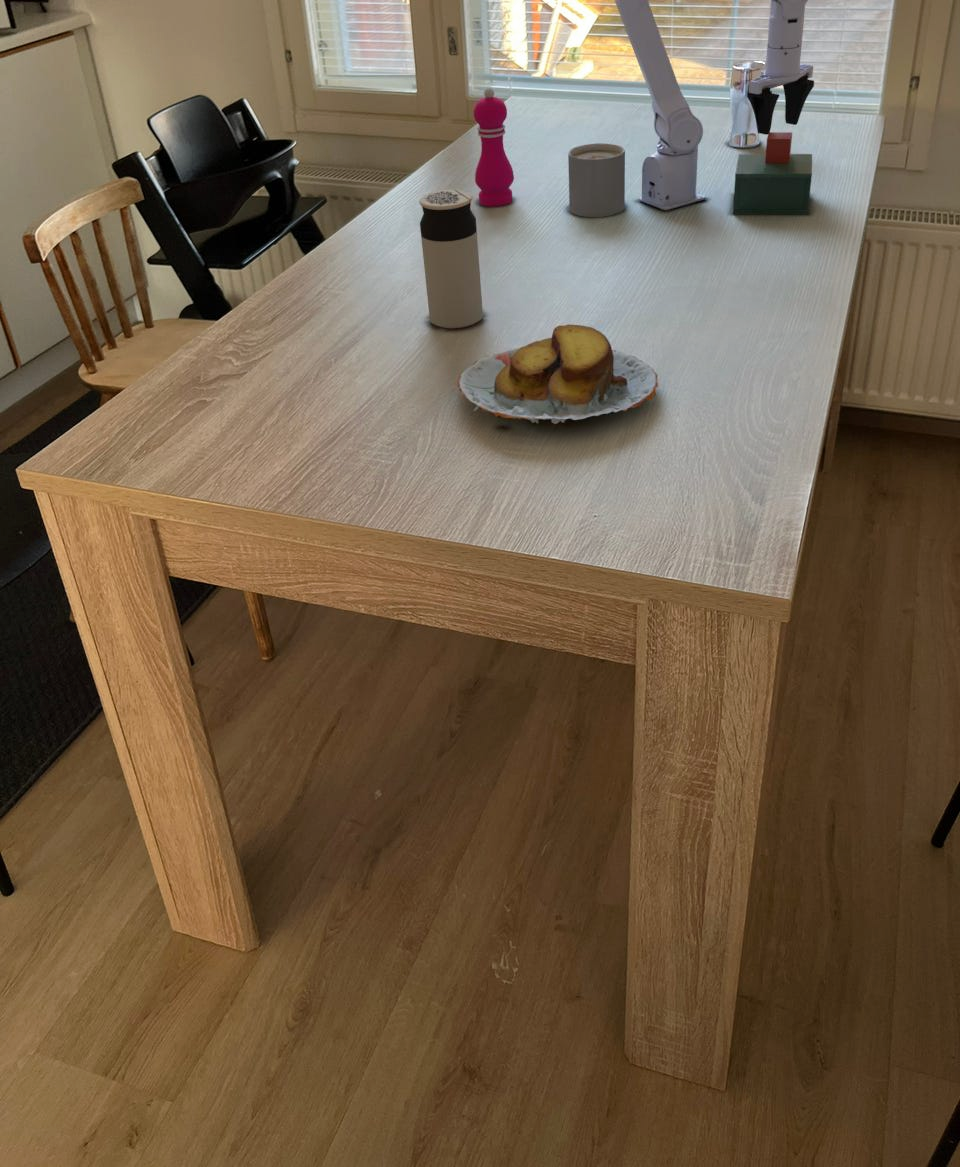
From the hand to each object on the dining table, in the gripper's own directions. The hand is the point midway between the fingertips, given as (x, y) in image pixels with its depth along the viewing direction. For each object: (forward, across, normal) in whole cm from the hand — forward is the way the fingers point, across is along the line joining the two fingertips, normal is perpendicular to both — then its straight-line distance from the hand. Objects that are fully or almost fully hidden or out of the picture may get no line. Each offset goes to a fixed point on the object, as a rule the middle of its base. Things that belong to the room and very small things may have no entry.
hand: (777, 128), depth 200 cm
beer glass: (+11, -18, -22) cm, 31 cm away
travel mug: (+10, +76, +4) cm, 77 cm away
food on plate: (+10, +82, +33) cm, 89 cm away
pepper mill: (+11, +38, -34) cm, 52 cm away
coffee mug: (+11, +27, -18) cm, 34 cm away
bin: (+10, +7, +6) cm, 14 cm away
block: (+3, +5, +5) cm, 8 cm away
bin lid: (+4, +8, +6) cm, 10 cm away
